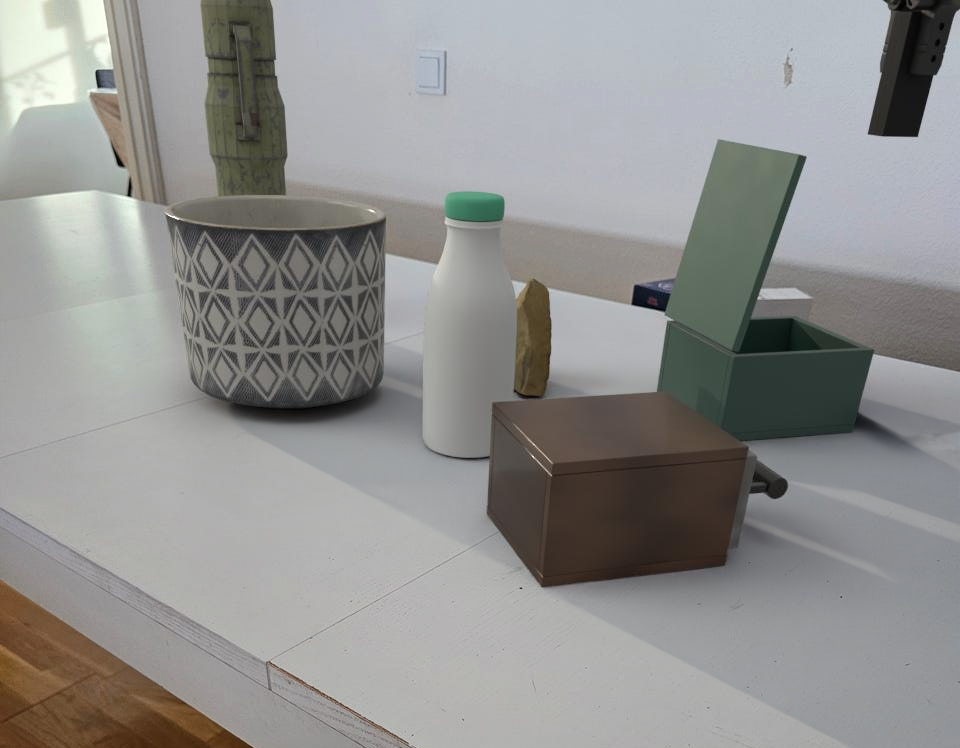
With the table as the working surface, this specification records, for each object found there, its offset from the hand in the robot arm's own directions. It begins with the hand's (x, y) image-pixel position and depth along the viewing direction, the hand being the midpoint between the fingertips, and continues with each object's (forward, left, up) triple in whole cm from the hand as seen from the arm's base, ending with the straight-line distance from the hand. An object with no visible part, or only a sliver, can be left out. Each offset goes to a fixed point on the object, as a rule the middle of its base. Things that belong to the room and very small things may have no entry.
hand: (892, 135), depth 59 cm
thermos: (+34, -68, -26) cm, 80 cm away
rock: (+12, -35, -26) cm, 45 cm away
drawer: (+14, +1, -25) cm, 29 cm away
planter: (+35, -36, -26) cm, 56 cm away
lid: (-3, -21, -10) cm, 23 cm away
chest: (-8, -21, -26) cm, 34 cm away
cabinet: (+18, +1, -26) cm, 31 cm away
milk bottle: (+22, -19, -26) cm, 39 cm away
